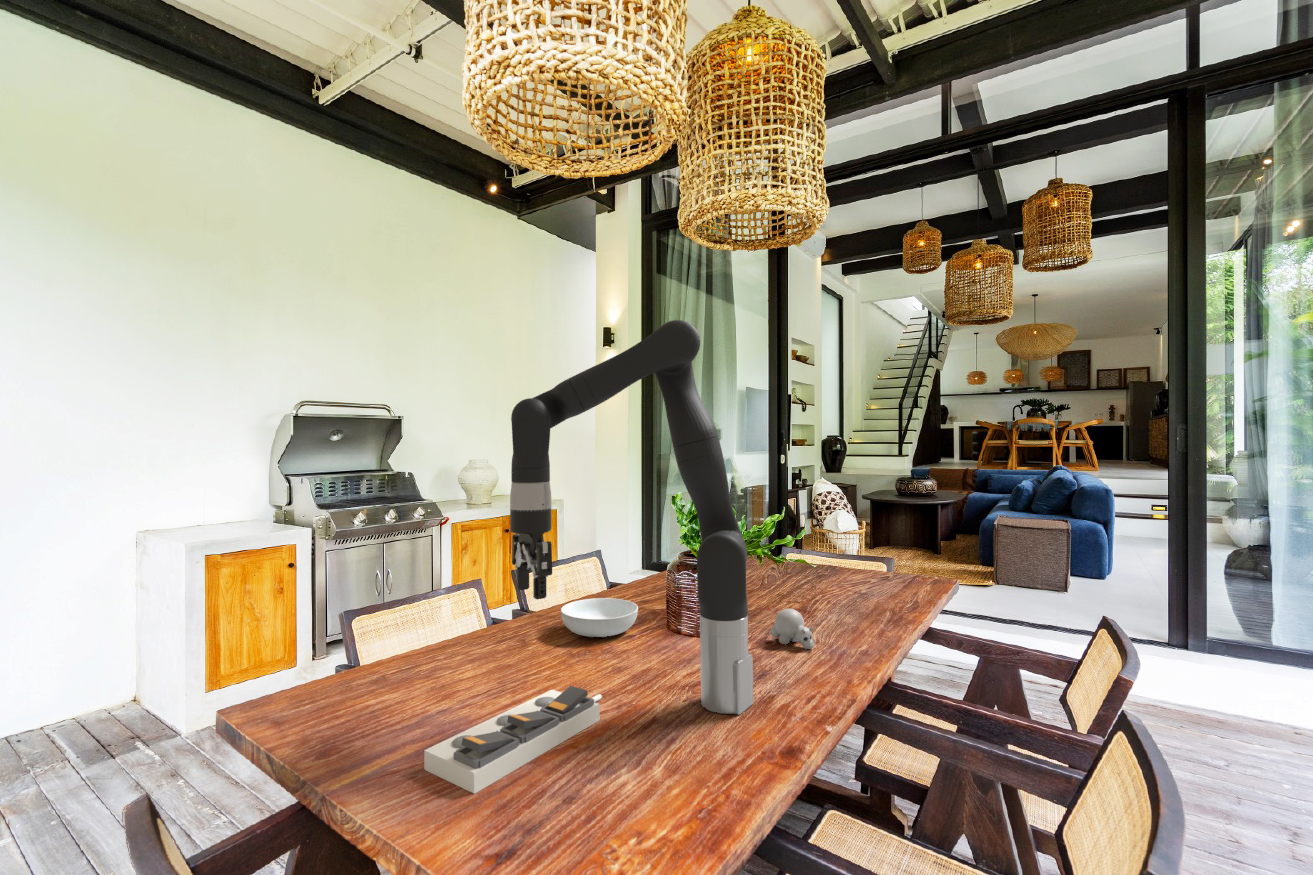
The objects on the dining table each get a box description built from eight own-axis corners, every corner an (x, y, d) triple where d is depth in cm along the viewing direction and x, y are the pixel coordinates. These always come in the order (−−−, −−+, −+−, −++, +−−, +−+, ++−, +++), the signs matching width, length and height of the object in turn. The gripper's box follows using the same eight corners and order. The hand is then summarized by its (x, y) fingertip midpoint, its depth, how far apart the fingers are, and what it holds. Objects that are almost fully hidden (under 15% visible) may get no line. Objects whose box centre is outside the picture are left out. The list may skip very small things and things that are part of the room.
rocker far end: (493, 738, 96) (495, 731, 97) (510, 745, 94) (512, 737, 94) (461, 744, 91) (462, 737, 92) (478, 752, 89) (480, 744, 89)
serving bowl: (566, 649, 150) (565, 621, 150) (557, 625, 170) (556, 601, 170) (646, 640, 155) (646, 614, 155) (628, 618, 175) (628, 595, 175)
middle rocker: (535, 717, 104) (536, 710, 104) (551, 723, 101) (552, 716, 102) (507, 722, 99) (508, 714, 99) (524, 728, 96) (525, 720, 97)
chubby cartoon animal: (797, 663, 144) (806, 634, 142) (765, 633, 154) (772, 605, 151) (818, 657, 148) (827, 628, 145) (785, 627, 157) (793, 600, 155)
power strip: (578, 691, 123) (578, 672, 123) (624, 705, 116) (624, 684, 116) (424, 769, 94) (424, 743, 94) (474, 793, 87) (474, 765, 87)
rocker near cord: (571, 690, 111) (570, 684, 111) (587, 695, 109) (586, 689, 109) (547, 711, 106) (546, 705, 106) (564, 716, 104) (563, 710, 104)
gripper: (565, 508, 108) (565, 598, 107) (535, 502, 120) (536, 584, 119) (525, 510, 104) (525, 605, 103) (498, 504, 116) (499, 589, 115)
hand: (531, 593), depth 111 cm, fingers open, 8 cm apart
